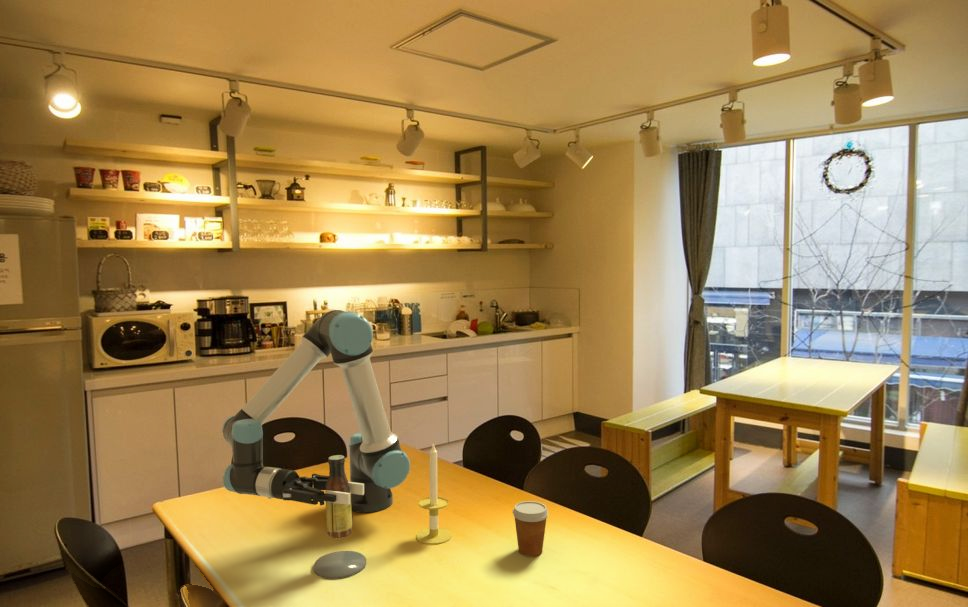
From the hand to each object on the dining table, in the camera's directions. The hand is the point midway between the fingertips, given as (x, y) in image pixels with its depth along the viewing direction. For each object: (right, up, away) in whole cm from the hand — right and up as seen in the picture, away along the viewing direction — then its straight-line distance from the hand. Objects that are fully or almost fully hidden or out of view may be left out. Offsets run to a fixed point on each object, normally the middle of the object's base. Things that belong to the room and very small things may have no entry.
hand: (356, 494), depth 151 cm
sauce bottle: (-5, -11, +2) cm, 12 cm away
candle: (+18, -18, +19) cm, 32 cm away
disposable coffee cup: (+44, -19, +11) cm, 49 cm away
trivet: (-5, -19, +3) cm, 20 cm away
